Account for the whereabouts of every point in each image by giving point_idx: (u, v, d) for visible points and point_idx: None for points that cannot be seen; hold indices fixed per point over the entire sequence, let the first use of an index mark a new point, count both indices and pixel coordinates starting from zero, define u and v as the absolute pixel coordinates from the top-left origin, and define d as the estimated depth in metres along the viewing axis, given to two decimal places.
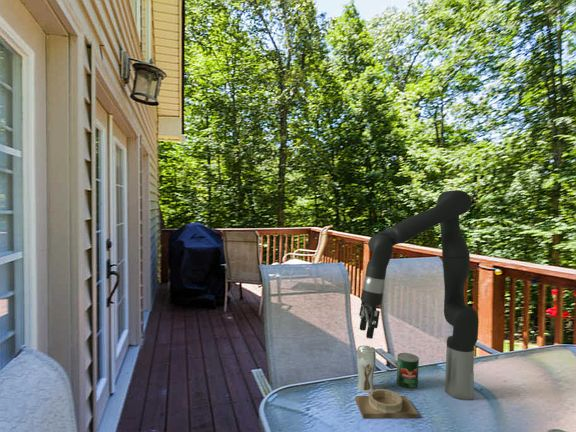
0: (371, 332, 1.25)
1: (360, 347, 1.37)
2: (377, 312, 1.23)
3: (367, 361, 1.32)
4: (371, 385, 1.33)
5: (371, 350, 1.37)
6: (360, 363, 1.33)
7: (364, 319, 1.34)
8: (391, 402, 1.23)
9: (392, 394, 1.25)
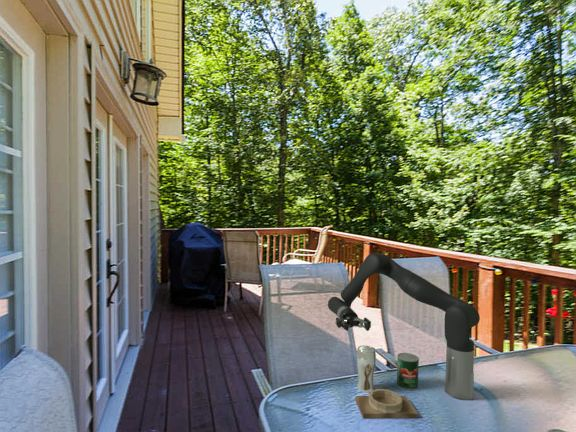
0: (343, 326, 1.48)
1: (360, 347, 1.37)
2: None
3: (367, 361, 1.32)
4: (371, 385, 1.33)
5: (371, 350, 1.37)
6: (360, 363, 1.33)
7: (364, 325, 1.50)
8: (391, 402, 1.23)
9: (392, 394, 1.25)
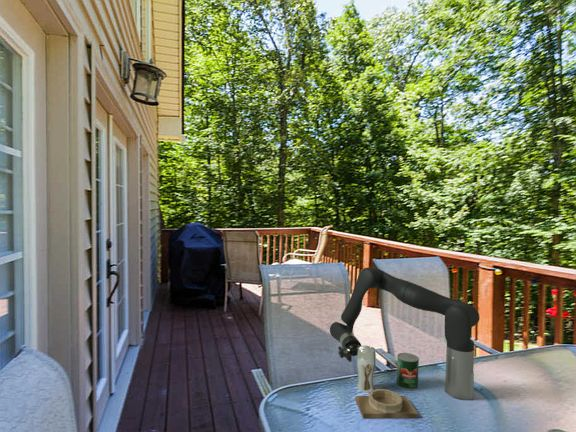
0: (346, 356, 1.43)
1: (360, 347, 1.37)
2: (338, 348, 1.50)
3: (367, 361, 1.32)
4: (371, 385, 1.33)
5: (371, 350, 1.37)
6: (360, 363, 1.33)
7: None
8: (391, 402, 1.23)
9: (392, 394, 1.25)
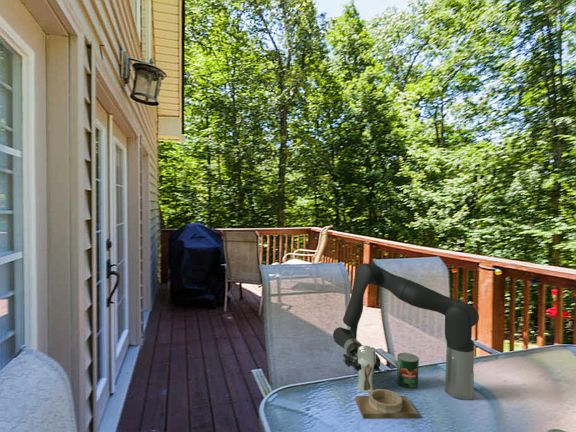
0: (353, 365, 1.35)
1: (360, 347, 1.37)
2: (343, 356, 1.42)
3: (367, 361, 1.32)
4: (371, 385, 1.33)
5: (371, 350, 1.37)
6: (360, 363, 1.33)
7: None
8: (391, 402, 1.23)
9: (392, 394, 1.25)
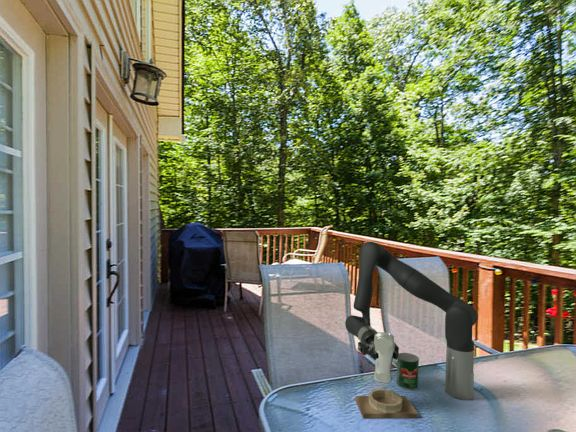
0: (370, 354, 1.23)
1: (377, 334, 1.26)
2: (358, 344, 1.30)
3: (385, 349, 1.20)
4: (389, 375, 1.21)
5: (389, 337, 1.25)
6: (377, 351, 1.21)
7: None
8: (391, 402, 1.23)
9: (392, 394, 1.25)
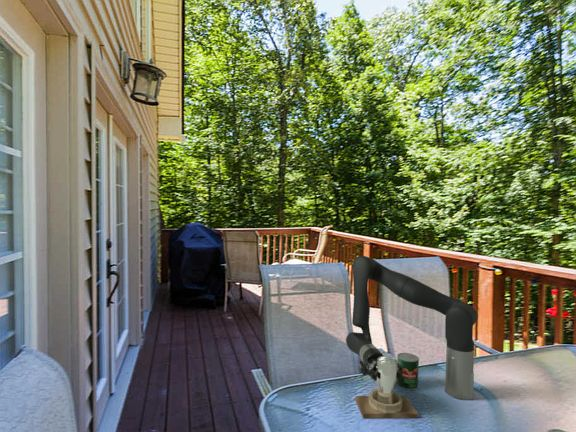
0: (370, 374, 1.21)
1: (380, 358, 1.24)
2: None
3: (388, 374, 1.18)
4: (392, 401, 1.20)
5: (392, 361, 1.23)
6: (380, 376, 1.19)
7: None
8: None
9: None
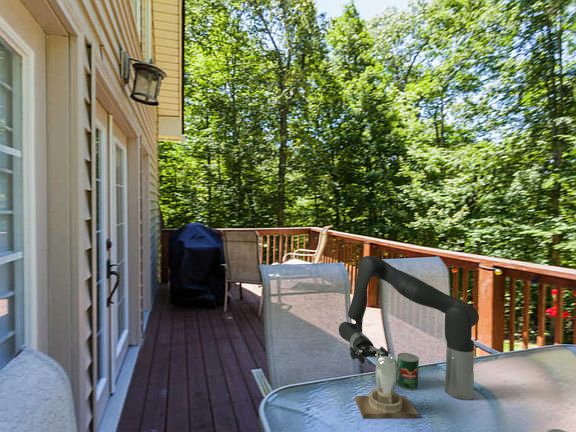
0: (359, 358, 1.34)
1: (379, 358, 1.24)
2: None
3: (388, 374, 1.18)
4: (392, 401, 1.20)
5: (391, 361, 1.24)
6: (379, 376, 1.19)
7: None
8: None
9: None
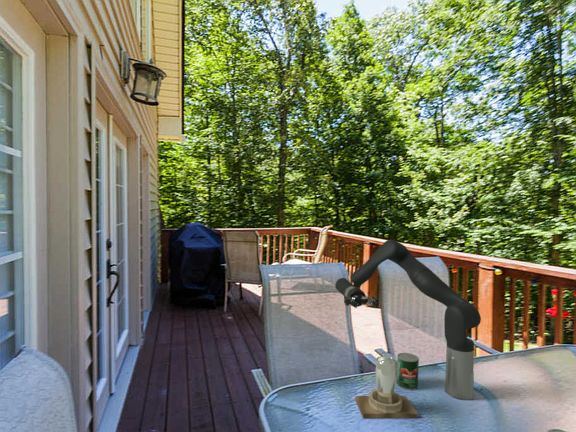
0: (352, 303, 1.49)
1: (379, 358, 1.24)
2: (344, 298, 1.56)
3: (388, 374, 1.18)
4: (392, 401, 1.20)
5: (391, 361, 1.24)
6: (379, 376, 1.19)
7: (372, 302, 1.52)
8: None
9: None
